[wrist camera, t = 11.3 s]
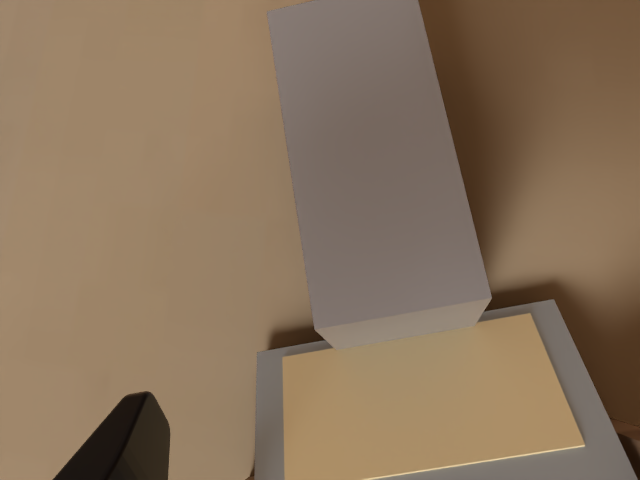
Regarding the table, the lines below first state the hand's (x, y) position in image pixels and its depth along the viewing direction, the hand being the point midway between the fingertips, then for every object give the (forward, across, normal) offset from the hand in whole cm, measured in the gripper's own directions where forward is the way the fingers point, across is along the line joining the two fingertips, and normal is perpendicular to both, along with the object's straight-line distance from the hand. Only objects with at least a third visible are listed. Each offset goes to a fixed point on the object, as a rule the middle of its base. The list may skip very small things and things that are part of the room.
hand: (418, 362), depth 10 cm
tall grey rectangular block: (+7, 0, +6) cm, 9 cm away
